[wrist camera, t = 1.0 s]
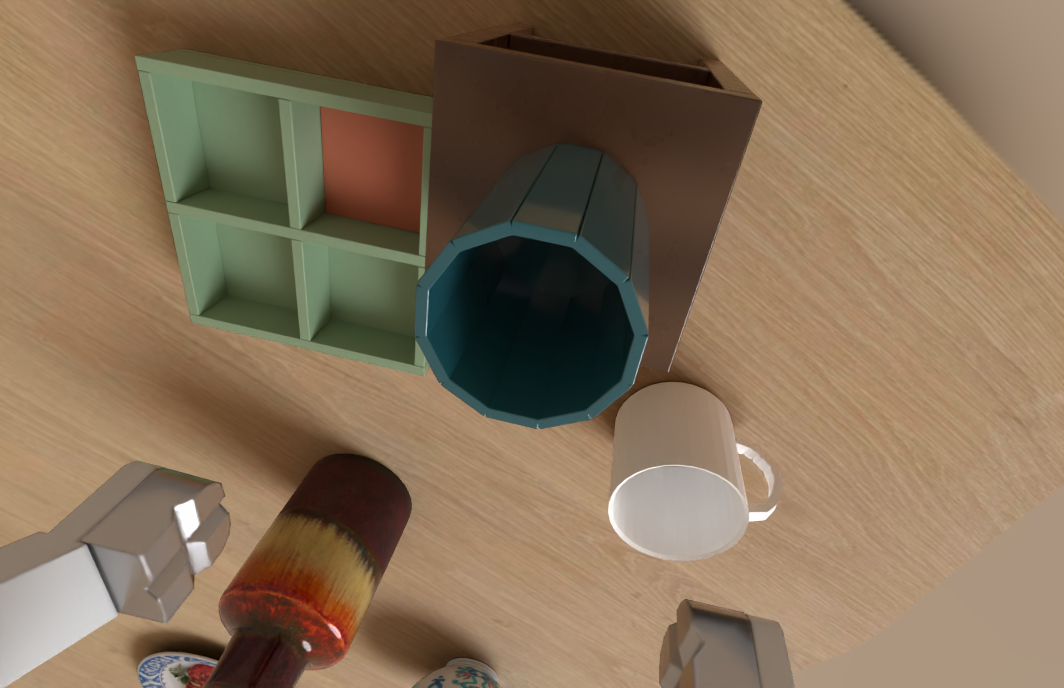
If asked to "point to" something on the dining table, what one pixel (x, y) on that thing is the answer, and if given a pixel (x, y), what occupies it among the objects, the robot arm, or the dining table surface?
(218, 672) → the vase
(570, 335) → the cup
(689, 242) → the shelf
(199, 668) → the ceramic plate
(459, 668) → the chinaware
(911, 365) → the dining table surface
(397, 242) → the tray
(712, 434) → the mug
